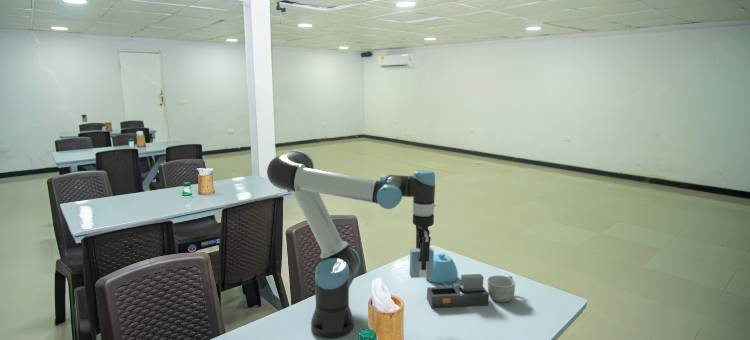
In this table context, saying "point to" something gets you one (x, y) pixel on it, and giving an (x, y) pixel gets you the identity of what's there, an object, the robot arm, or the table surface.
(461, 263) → the table surface
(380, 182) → the robot arm
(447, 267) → the sugar bowl
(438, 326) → the table surface
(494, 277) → the teacup
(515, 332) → the table surface
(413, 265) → the panel
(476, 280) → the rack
